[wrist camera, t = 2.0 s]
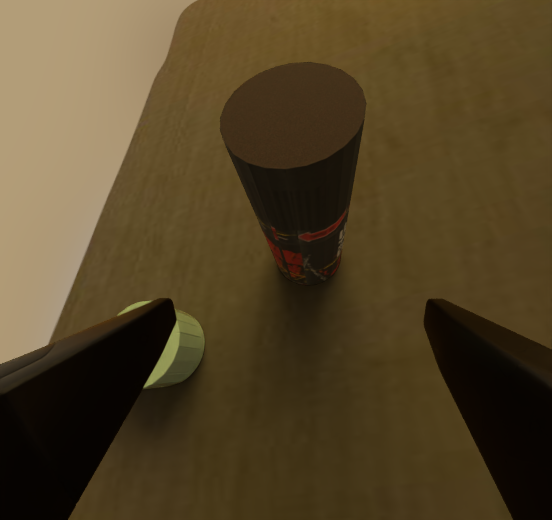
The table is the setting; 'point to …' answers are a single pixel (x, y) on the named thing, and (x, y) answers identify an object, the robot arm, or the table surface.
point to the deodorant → (298, 160)
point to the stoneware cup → (177, 351)
